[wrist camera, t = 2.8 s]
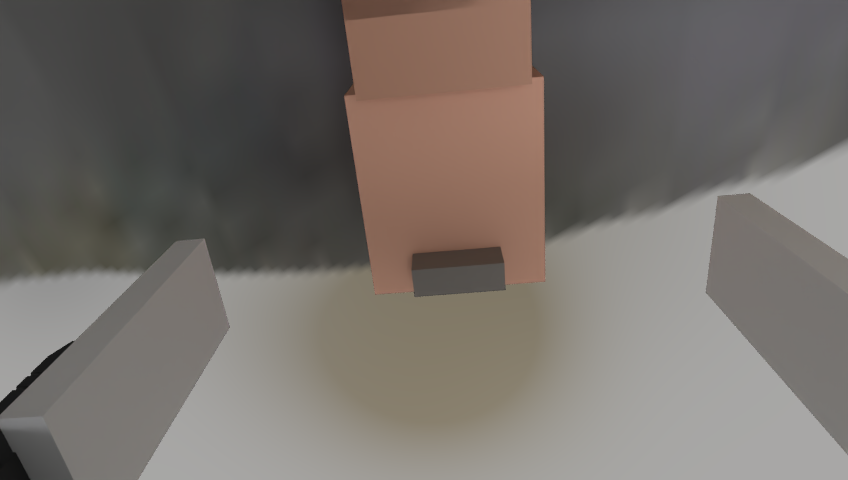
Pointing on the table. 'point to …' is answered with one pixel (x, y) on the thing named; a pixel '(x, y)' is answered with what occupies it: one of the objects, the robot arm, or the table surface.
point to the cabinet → (447, 143)
